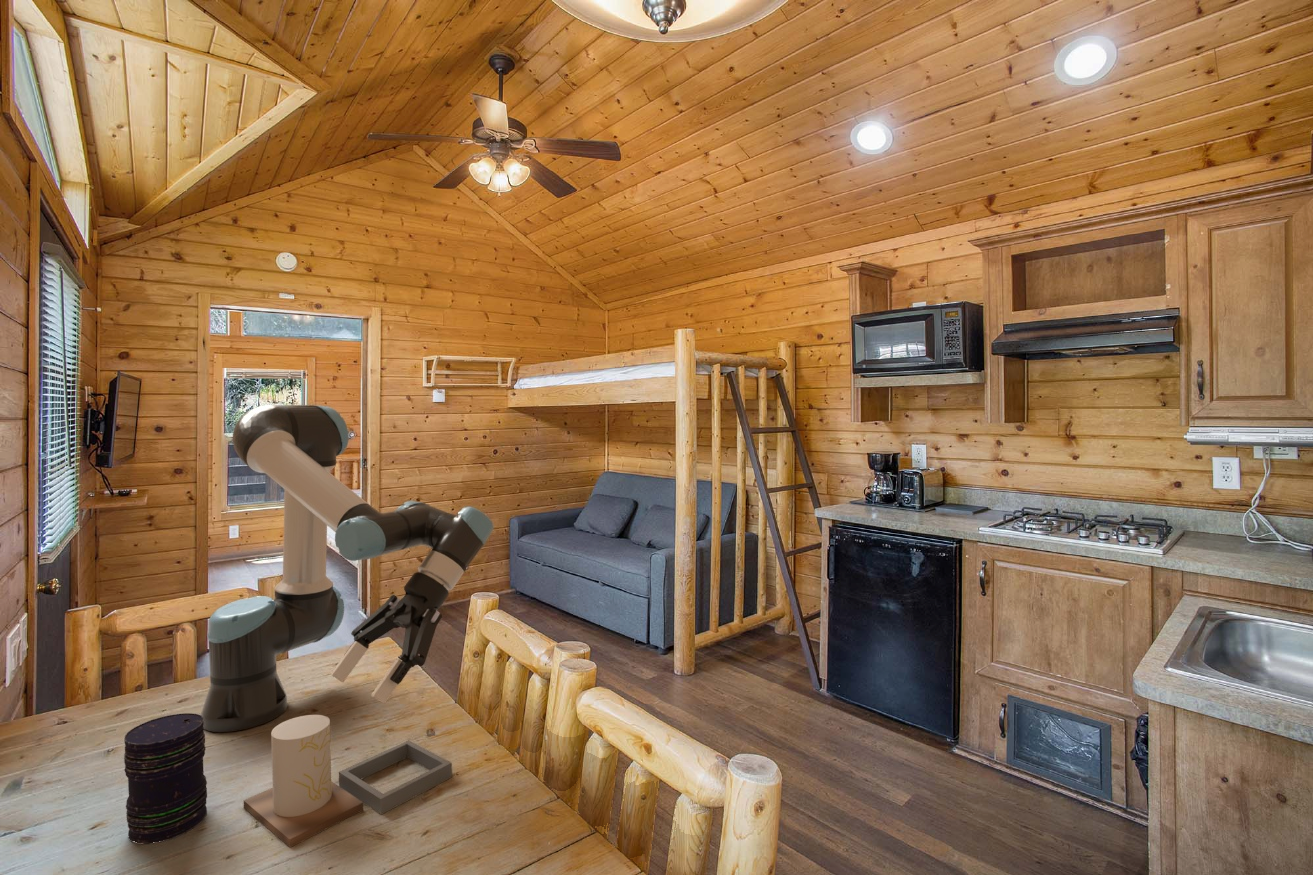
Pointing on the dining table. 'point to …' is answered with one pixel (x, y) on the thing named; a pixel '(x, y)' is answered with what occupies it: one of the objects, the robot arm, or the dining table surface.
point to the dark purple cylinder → (165, 777)
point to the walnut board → (307, 824)
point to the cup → (301, 765)
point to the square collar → (393, 798)
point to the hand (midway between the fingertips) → (356, 688)
